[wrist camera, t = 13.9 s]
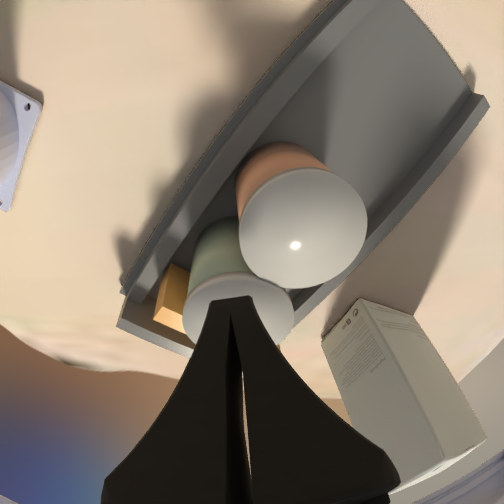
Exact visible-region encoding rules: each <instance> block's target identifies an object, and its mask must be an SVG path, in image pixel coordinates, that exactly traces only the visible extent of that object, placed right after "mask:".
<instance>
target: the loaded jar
mask: <svg viewBox="0 0 504 504" xmlns="http://www.w3.org/2000/svg"><path fill="white" fill-rule="evenodd" d="M238 230H239V217H228V218H223V219H220V220H217V221H215V222H213V223H211V224H210V225H208V226H207V227H206V228H205V229H204V230H203V231H202V232H201V233H200V235H199V236H198V238H197V240H196V243H195V247H194V253H193V260H192V266H191V273H190V280H189V287H188V294H187V298H186V300H185V303H184V308H183V315H182V323H183V328H184V330H185V332H186V334H187V336H188V337H189V338H190V339H191V340H192V342H193V343H195V344H196V343H197V341H198V338H199V335H200V333H201V330H202V327H203V324H204V321H205V318H206V315H207V311H208V307H209V303H210V302H211V301H212V300H219V299H226V298H233V297H240V296H246V295H249V296H251V297H252V298H253V302H254V305H255V308H256V310H257V312H258V315H259V317H260V319H261V321H262V323H263V324H264V326H265V328H266V330H267V331H268V333H269V335H270V336H271V338H272V340H273V341H274V343H275V344H276V346H277V345H278V344H279V343H281V342H282V341H283V340H284V339H285V338H286V337H287V336H288V334H289V333H290V331H291V329H292V327H293V324H294V310H293V306H292V302H291V299H290V296H289V294H288V293H287V290H286V288H284V287H279V286H276V285H272V284H270V283H268V282H266V281H264V280H263V279H261V278H259V277H258V276H257V275H256V274H255V273H254V272H253V271H252V270H251V269H250V268H249V267H248V265H247V263H246V262H245V260H244V258H243V255H242V252H241V248H240V242H239V233H238Z"/></svg>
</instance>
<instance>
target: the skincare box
mask: <svg viewBox="0 0 504 504" xmlns="http://www.w3.org/2000/svg"><path fill="white" fill-rule="evenodd" d="M321 343H322V344H321V346H322V349H323V351H324V354H325V356H326V359H327V361H328V364H329V366H330V369H331V371H332V374H333V376H334V379H335V381H336V384H337V386H338V389H339V392H340V394H341V397H342V400H343V402H344V405H345V407H346V410H347V412H348V415H349V418H350V420H351V423H352V425H353V428H354V429H355V430H356V431H358V432H359V433H360V434H362V435H363V436H364V437H366V438H367V439H368V440H370V441H371V442H373V443H374V444H376V445H377V446H379V447H380V448H382V449H383V450H384V451H385V452H386V453H387V455H388V456H389V458H390V459H391V461H392V462H393V464H394V466H395V467H396V469H397V471H398V473H399V476H400V480H401V483H400V485H399V486H397V487H396V488H395V489H393V490H391V491H390V492H388V495H389V494H392V493H395V492H397V491H400V490H402V489H405V488H407V487H409V486H411V485H414V484H416V483H418V482H421V481H423V480H425V479H427V478H429V477H431V476H433V475H435V474H437V473H439V472H441V471H443V470H444V469H446V468H448V467H449V466H451V465H452V464H454V463H455V462H457V461H458V460H460V459H461V458H462V457H464V456H465V455H467V454H468V453H470V452H471V451H473V450H474V449H475V448H477V447H478V446H479V445H481V444H482V443H483V442H485V441H486V439H487V436H486V434H485V432H484V430H483V428H482V426H481V424H480V422H479V421H478V419H477V417H476V415H475V413H474V411H473V410H472V408H471V406H470V404H469V403H468V401H467V399H466V397H465V396H464V394H463V392H462V391H461V389H460V387H459V386H458V384H457V382H456V381H455V379H454V377H453V376H452V374H451V372H450V371H449V369H448V368H447V366H446V364H445V363H444V361H443V360H442V358H441V356H440V355H439V353H438V352H437V350H436V349H435V347H434V346H433V344H432V343H431V341H430V340H429V338H428V337H427V335H426V334H425V332H424V331H423V329H422V328H421V326H420V325H419V323H418V322H417V321H416V319H415V318H414V316H412V315H409V314H406V313H403V312H400V311H398V310H395V309H392V308H389V307H386V306H383V305H380V304H376V303H373V302H370V301H367V300H364V299H362V298H359V299H358V300H357V301H356V302H355V303H354V305H353V306H352V307H351V308H350V310H349V311H348V312H347V313H346V315H345V316H344V317H343V318H342V319H341V320H340V321H339V322H338V323H337V324H336V325H335V326H334V327H333V329H332V330H331V331H330V332H329V333H328V334H327V335H326V336H325V337H324V338H323V340H322V341H321Z"/></svg>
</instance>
